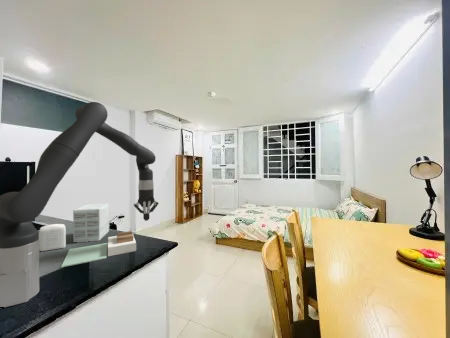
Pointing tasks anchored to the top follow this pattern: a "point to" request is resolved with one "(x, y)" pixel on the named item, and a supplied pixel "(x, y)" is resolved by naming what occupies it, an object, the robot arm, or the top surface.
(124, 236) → the walnut tile
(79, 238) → the supplement box
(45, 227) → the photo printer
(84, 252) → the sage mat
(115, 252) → the white flat block
